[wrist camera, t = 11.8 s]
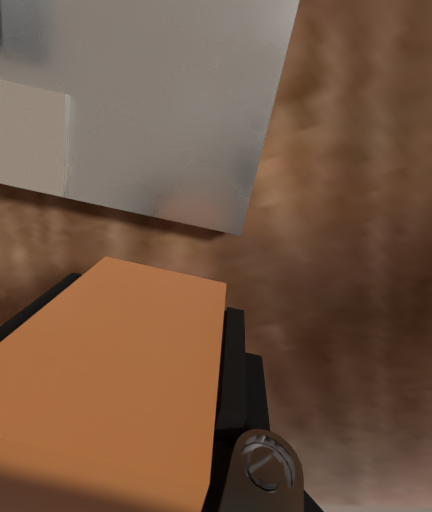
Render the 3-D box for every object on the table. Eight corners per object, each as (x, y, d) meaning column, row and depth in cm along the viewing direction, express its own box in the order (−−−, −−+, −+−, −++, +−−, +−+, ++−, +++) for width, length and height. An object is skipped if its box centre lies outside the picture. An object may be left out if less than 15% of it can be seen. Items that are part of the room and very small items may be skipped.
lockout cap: (226, 283, 9) (209, 484, 4) (203, 377, 11) (165, 625, 5) (105, 256, 9) (-93, 418, 4) (98, 354, 11) (-55, 578, 5)
